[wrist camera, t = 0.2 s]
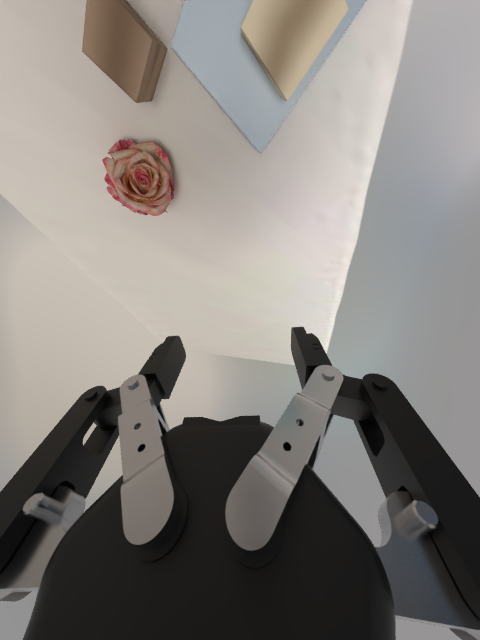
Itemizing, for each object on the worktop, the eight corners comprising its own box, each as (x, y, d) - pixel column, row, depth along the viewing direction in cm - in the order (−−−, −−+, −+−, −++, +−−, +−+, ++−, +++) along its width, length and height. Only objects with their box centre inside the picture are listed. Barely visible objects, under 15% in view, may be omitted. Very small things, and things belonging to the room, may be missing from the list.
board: (173, 47, 21) (170, 46, 20) (308, -392, 10) (314, -431, 9) (259, 152, 28) (260, 154, 27) (393, -43, 17) (400, -49, 17)
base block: (240, 34, 20) (241, 27, 17) (293, -82, 16) (303, -112, 13) (282, 100, 23) (287, 100, 21) (334, 19, 19) (348, 9, 17)
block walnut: (109, 58, 22) (81, 51, 18) (119, -8, 19) (89, -33, 15) (151, 100, 24) (136, 102, 20) (167, 48, 21) (152, 39, 17)
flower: (165, 226, 35) (170, 224, 28) (106, 204, 30) (96, 195, 24) (176, 169, 33) (184, 152, 26) (114, 136, 28) (105, 104, 21)
